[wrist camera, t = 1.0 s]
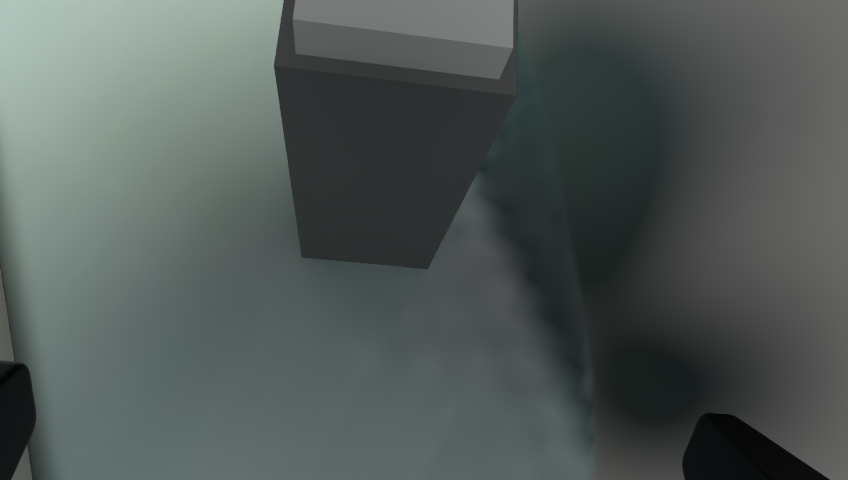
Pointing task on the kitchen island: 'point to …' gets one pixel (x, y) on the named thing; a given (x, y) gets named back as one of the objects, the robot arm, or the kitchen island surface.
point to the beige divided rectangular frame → (3, 351)
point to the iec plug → (389, 118)
